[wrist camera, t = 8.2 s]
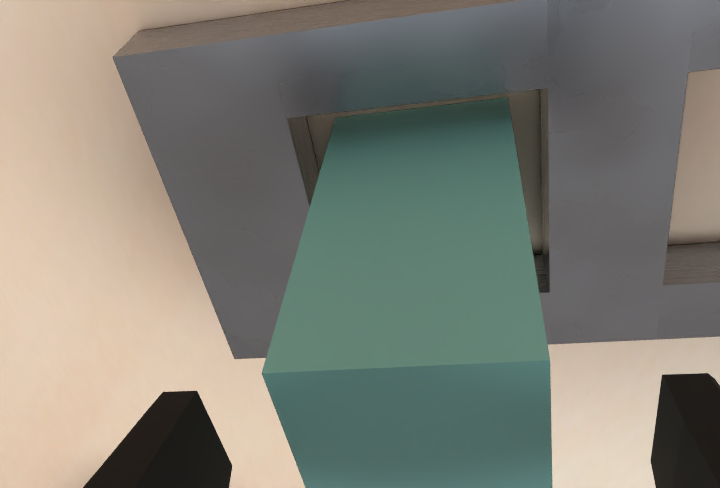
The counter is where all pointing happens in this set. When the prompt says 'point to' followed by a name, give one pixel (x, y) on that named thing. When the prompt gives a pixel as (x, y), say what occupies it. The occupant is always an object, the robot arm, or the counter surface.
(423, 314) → the teal peg
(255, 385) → the counter surface
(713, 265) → the steel rail
